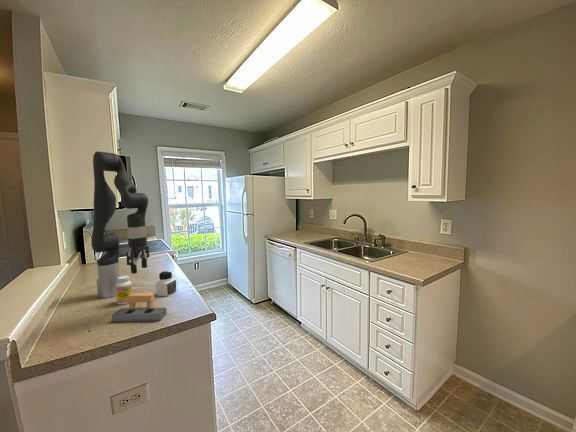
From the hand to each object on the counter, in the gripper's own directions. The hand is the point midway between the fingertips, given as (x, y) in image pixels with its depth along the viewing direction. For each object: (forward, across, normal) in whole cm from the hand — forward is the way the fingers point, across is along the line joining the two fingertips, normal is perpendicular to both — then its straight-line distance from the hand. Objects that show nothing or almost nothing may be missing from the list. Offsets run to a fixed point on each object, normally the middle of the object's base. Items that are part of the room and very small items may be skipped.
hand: (139, 270), depth 116 cm
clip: (+18, 0, 0) cm, 18 cm away
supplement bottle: (+18, -7, -12) cm, 23 cm away
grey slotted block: (+18, +10, +5) cm, 21 cm away
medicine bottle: (+18, -17, +4) cm, 25 cm away
